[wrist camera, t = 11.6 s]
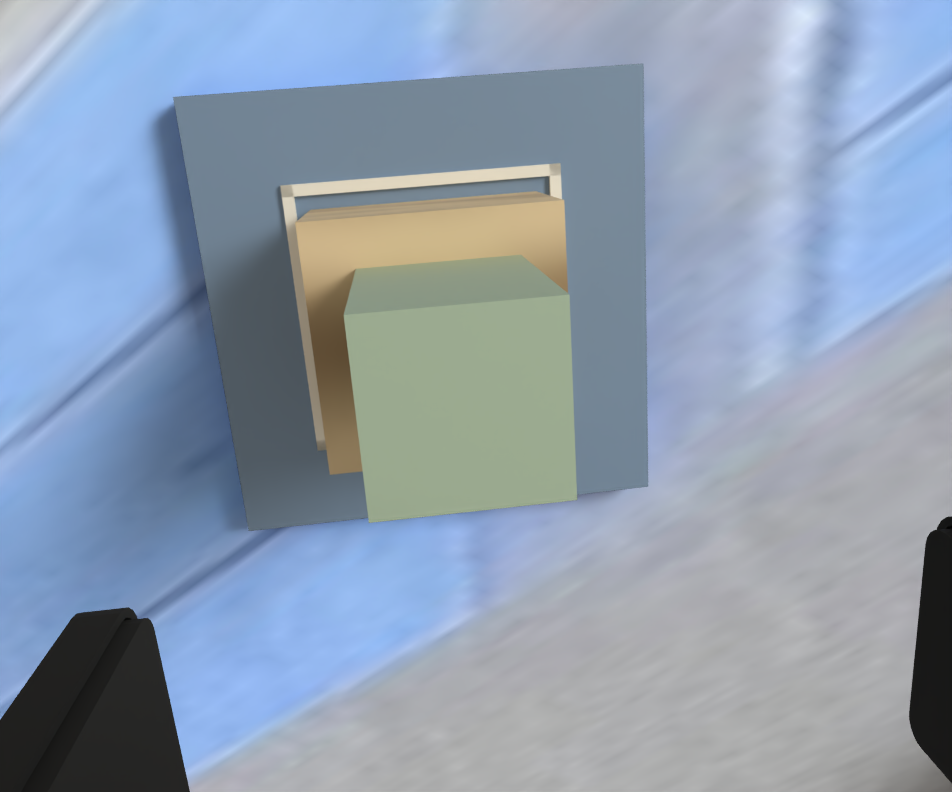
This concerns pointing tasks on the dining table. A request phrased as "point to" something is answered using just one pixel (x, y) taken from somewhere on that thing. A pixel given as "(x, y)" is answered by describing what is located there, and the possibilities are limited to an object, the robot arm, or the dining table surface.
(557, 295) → the sage brick
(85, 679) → the robot arm
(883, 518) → the dining table surface
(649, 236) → the dining table surface
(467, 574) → the dining table surface
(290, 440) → the board
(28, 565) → the dining table surface
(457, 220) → the oak block
